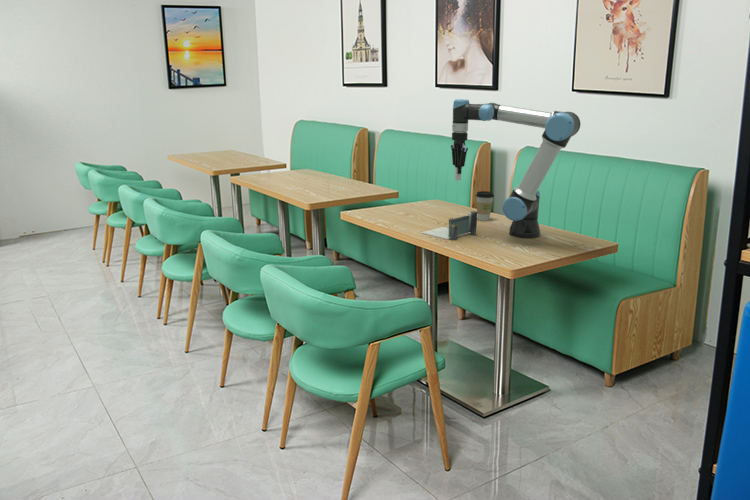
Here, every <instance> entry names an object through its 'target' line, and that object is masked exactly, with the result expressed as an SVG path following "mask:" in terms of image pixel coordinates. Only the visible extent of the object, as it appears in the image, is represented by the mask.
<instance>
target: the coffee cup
mask: <svg viewBox="0 0 750 500" xmlns="http://www.w3.org/2000/svg"><path fill="white" fill-rule="evenodd" d="M475 197H476V212H478V213H477V221H481V222H482V221H483V222H487V221H490V217H491V213H492V208H493V204H494V203H493V200H494V197H495V195H494V193H493V192H492V191H487V190H486V191H485V190H480V191H477V192H476V194H475Z"/></svg>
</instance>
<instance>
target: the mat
mask: <svg viewBox="0 0 750 500" xmlns="http://www.w3.org/2000/svg"><path fill="white" fill-rule="evenodd" d="M420 233H421V234H422V233H423V234H424V235H426V234H427V235H428V236H431V237H435V238H439V239H443V240H451V237H448V235H449V227H445V226H441V227H437V228H433V229H430V230H424V231H421V232H420ZM469 234H470V232H468V233H464V234H461V235H457V238H458V237H462V236H465V235H469Z"/></svg>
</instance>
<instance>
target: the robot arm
mask: <svg viewBox="0 0 750 500" xmlns="http://www.w3.org/2000/svg"><path fill="white" fill-rule="evenodd" d="M491 120H494V121H500V122H501V121H502V122H506V123H513V124H518V125H524V126H529V127H530V126H531V127H534V128H535V127H536V128H541V129H544V130H543V133H542V135H541V138H542V141H541V144H540V146H539V148H538V149H537V151H536V153H535V155H534V156H533V159H532V161H531V162H530V165H529V166H528V168H527V169H526V171H525V173H524V175H523V177H522V179H521V180H520V181H521V182H520V183H519V184H518V186H515V187H513V189H512V192H511V193H510V195H509V196H508V197H507V198H506V199H505V200H504V201H503V202H502V203H503V204H502V211H503V214H504V216H505V217H506V218H507V219H509V220H510V221H512V222H511V225H510V227H509V229H508V230H509V231H508V234H509V235H510V236H512V237H515V238H521V239H536V238H539V237H540V236H541V229H540V225H539V211H540V210H539V207H540V198H541V196H540V194H541V193H540V190H539V189H540V187H541V185H542V183H543V181H544V179H545V178H546V175H547V174H548V173H549V170H550V169H551V167H552V165H553V163H554V161H555V160H556V158H557V156H558V154H559V152H560V151H561V149H565V148H566V147H567V145H568V144H569V141H570V140H571V138H572V137H574V136H575V135H577V134H578V132H579V130H580V129H581V120H580V117H579V116H578V115H577V114H576V113H575V112H572V111H559V110H558V111H557V110H554V111H553V112H549V111H545V110H544V111H543V110H537V109H531V108H525V107H519V106H518V107H517V106H511V105H505V104H500V103H499V104H498V103H495V102H489V103H478V104H477V103H470V100H469V99H467V98H466V99H463V98H462V99H461V98H459V99H454V100H453V105H452V125H451V128H452V130H451V131H452V132H451V140H452V141H453V144H451V145H450V148H451V158H452V159H451V161H452V166H454V167H455V168H454V181H456V182H457V181H462V168H463V167H465V165H466V159H467V153H468V150H469V148H468V147H466V141H467V140H468V131H469V121H482V122H488V121H489V122H490V121H491Z"/></svg>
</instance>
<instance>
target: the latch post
mask: <svg viewBox="0 0 750 500" xmlns="http://www.w3.org/2000/svg"><path fill="white" fill-rule="evenodd" d="M457 227H458V226H457V224H452V225H451V239H450V240H452V241H457V240H458V237H457Z"/></svg>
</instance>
